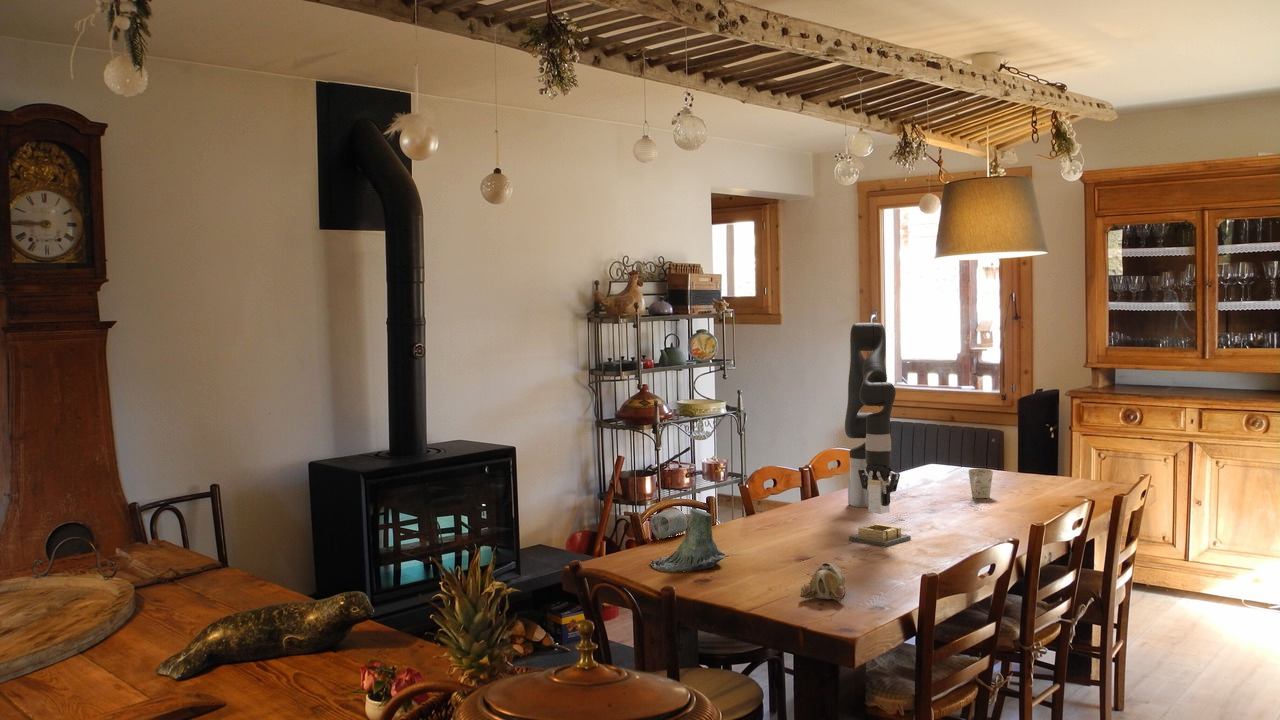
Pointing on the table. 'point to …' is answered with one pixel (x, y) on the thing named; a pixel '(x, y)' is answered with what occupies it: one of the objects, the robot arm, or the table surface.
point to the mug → (980, 482)
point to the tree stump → (693, 547)
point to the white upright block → (876, 497)
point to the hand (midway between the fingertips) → (879, 504)
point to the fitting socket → (880, 535)
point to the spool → (668, 523)
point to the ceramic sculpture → (825, 583)
